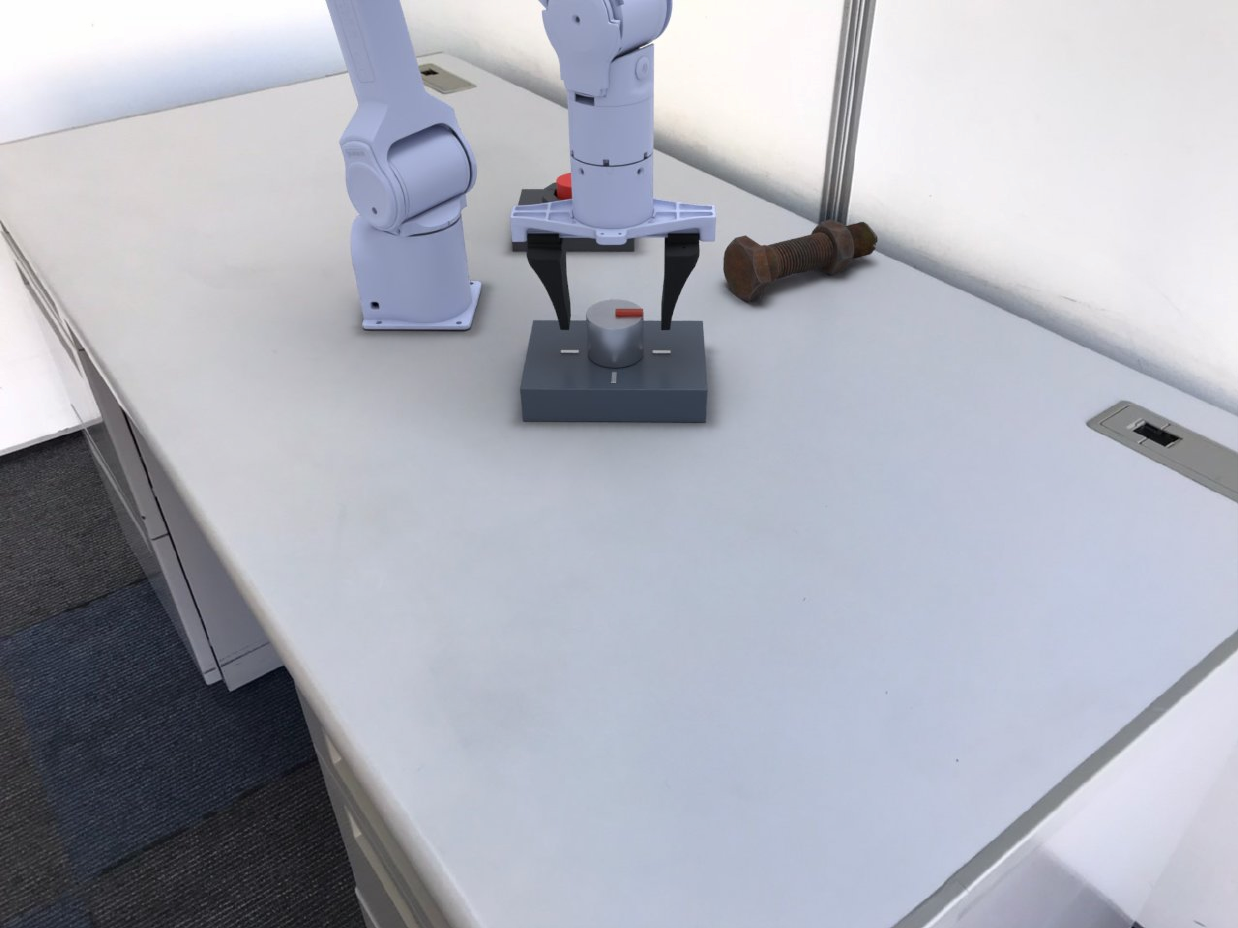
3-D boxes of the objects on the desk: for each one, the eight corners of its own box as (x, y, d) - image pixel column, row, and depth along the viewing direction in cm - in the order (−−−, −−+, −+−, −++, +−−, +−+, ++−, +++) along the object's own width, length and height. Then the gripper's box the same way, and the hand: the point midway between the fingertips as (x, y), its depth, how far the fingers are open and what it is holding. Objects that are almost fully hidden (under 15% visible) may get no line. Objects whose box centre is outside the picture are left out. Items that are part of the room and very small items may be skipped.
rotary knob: (586, 368, 76) (584, 325, 74) (589, 337, 80) (587, 295, 77) (643, 368, 76) (643, 325, 74) (644, 337, 80) (644, 295, 77)
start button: (555, 204, 98) (554, 187, 97) (558, 188, 101) (557, 172, 100) (592, 203, 98) (591, 187, 97) (593, 188, 101) (593, 172, 100)
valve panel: (522, 421, 76) (519, 387, 74) (535, 350, 84) (532, 318, 82) (705, 422, 76) (707, 388, 74) (701, 351, 84) (702, 318, 82)
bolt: (867, 276, 97) (739, 311, 91) (842, 235, 98) (715, 267, 92) (896, 240, 92) (763, 275, 86) (870, 197, 93) (737, 228, 87)
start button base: (512, 252, 98) (509, 214, 96) (523, 208, 106) (520, 172, 103) (634, 252, 98) (634, 214, 95) (636, 208, 105) (635, 172, 103)
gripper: (498, 174, 65) (515, 351, 73) (721, 173, 64) (712, 351, 73) (510, 134, 70) (525, 303, 79) (716, 133, 70) (708, 303, 78)
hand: (615, 323), depth 76 cm, fingers open, 7 cm apart
